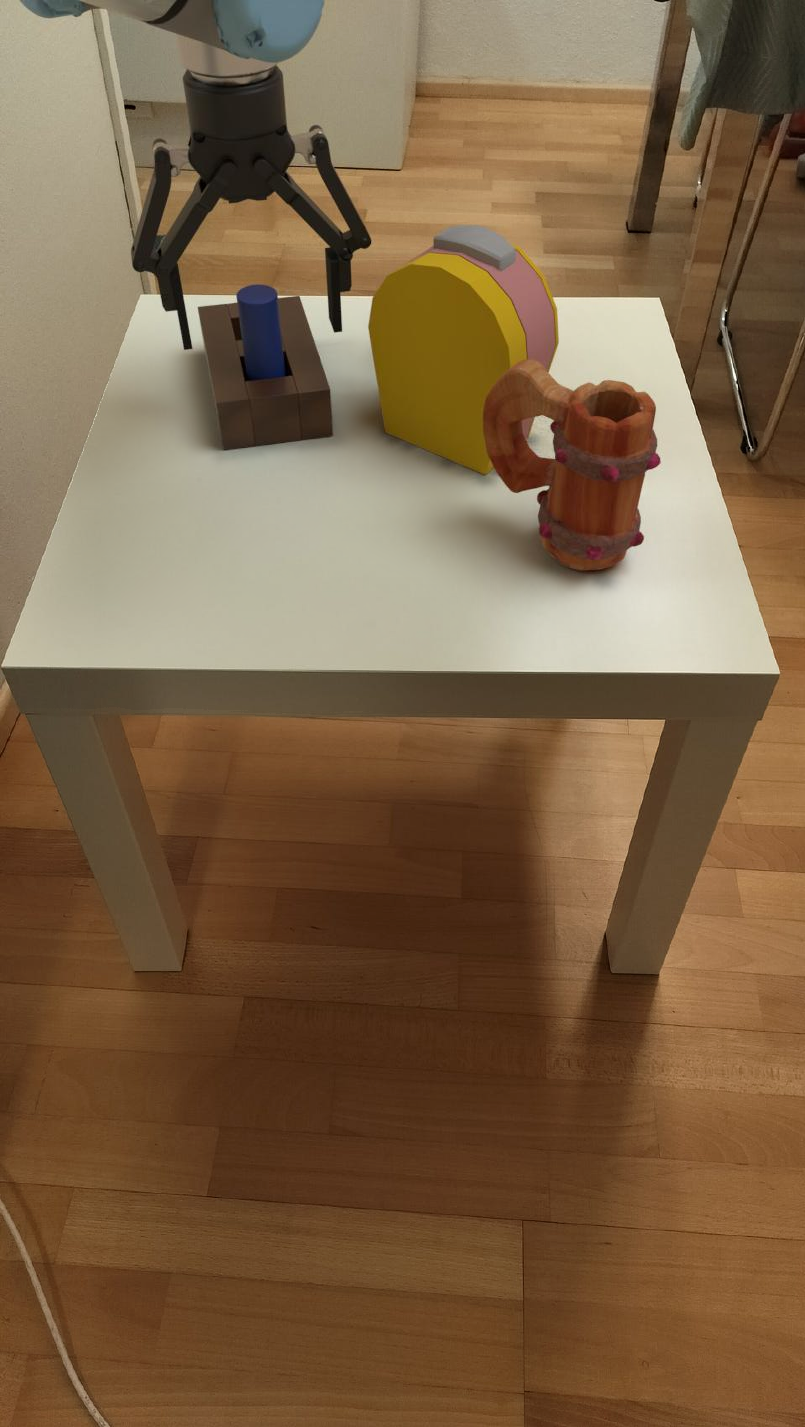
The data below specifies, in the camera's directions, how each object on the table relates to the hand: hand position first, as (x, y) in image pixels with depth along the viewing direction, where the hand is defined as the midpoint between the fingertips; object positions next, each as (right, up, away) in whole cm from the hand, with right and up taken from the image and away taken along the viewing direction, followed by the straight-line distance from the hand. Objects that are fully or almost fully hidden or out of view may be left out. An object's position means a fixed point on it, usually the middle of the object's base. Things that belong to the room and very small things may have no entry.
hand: (262, 333), depth 91 cm
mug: (+26, -20, -6) cm, 33 cm away
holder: (-1, -3, +9) cm, 9 cm away
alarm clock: (+18, -8, +4) cm, 20 cm away
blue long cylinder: (0, -5, +6) cm, 8 cm away
